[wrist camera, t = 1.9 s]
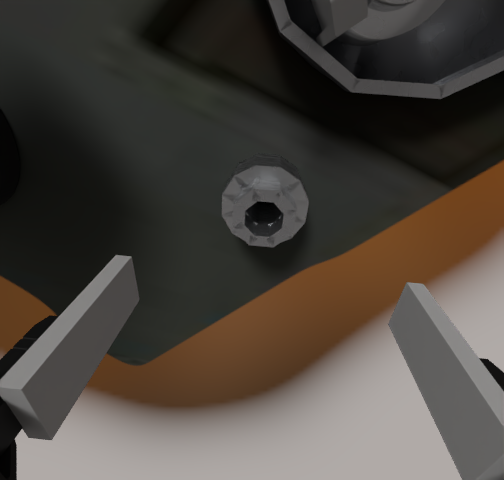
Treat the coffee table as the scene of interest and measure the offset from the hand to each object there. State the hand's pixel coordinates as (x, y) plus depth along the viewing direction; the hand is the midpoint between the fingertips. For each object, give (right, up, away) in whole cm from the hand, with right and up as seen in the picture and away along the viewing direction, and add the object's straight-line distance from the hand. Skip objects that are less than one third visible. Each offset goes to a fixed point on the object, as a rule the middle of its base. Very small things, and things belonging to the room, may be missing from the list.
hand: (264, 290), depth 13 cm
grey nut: (+1, +7, +12) cm, 14 cm away
